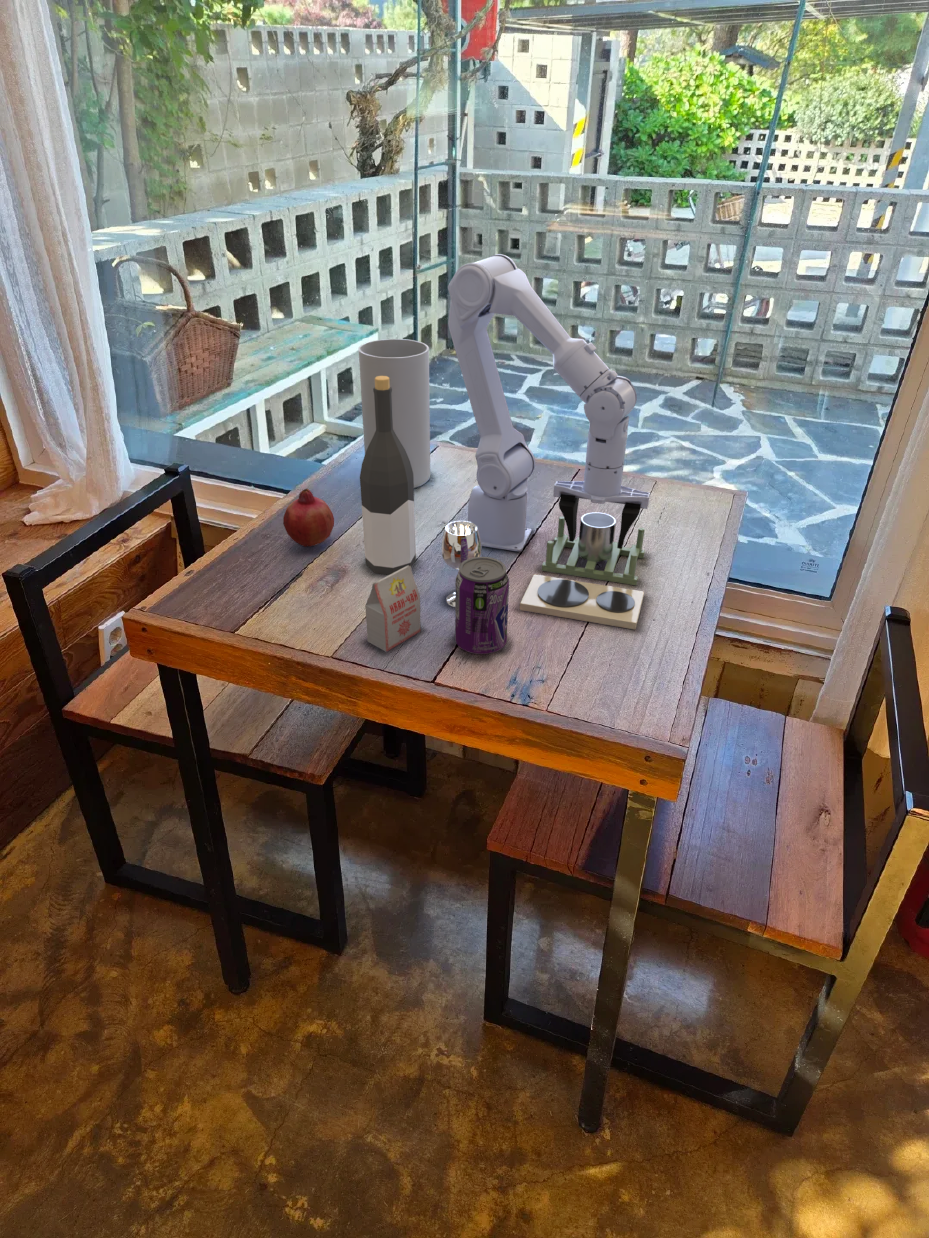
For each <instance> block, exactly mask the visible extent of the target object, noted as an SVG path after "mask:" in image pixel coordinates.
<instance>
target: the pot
mask: <svg viewBox="0 0 929 1238" xmlns="http://www.w3.org/2000/svg"><path fill="white" fill-rule="evenodd" d="M616 526H617V519H616V518H615V517H614V516H612V515H611V514H609V513H605V512H598V511H597V512H595V511H594V512H587V513H584V514H582V516H581V517H580V524H579V533H578V537H579V542H578V555H579V556H580V557H579V558H581V559H583V560H585V561H593V562H597V563H601V562H602V563H603V562H607V561H608V559H610V558H611V557H612V552H613V543H614V542H615V534H616Z"/></svg>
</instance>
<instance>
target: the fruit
mask: <svg viewBox="0 0 929 1238" xmlns="http://www.w3.org/2000/svg"><path fill="white" fill-rule="evenodd" d="M282 525H283V527H284V530H285V531H286V532H285V533H286V534H287V535H288V536H289V538H290V539H291V540H292V541H293V542H295V543H297V544H298V545H299V546H301V547H304V548H305V547H307V548H308V547H314V546H317V545H319V544H321V543H323V542H324V541H326V540H327V539H329V537H331V534H332V532H333V529H334V526H335V516H334V513H333V511H332V510H331V508H330V506H329V505H328V503H327V502H326V501H325V500H324V499H322V498H320V497H317V496H314V494H313V493H312V491H311V490H310V489H309V488H304V489H302V490H301V491H300V493H299V495H298V498H296V499H294V500H293V501H292V502H290V503H289V504H288V506H287V507H286V509H285V512H284V514H283V519H282Z"/></svg>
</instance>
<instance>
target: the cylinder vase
mask: <svg viewBox="0 0 929 1238" xmlns="http://www.w3.org/2000/svg"><path fill="white" fill-rule="evenodd" d="M358 365H359V366H358V367H359V381H360V382H359V383H360V396H361V397H360V398H361V416H362V430H363V433H362V434H363V447H364V454H365V453H366V450H367V448H368V446H369V444H370V442H371V440H372V438H373V436H374V434H375V431H376V419H375V400H374V392H373V388H374V387H375V378H376V377H377V376H387V377H389V378H390V387H392V392H391V395H392V419H393V430H394V432H395V434H396V435H397V437H398V439H399V440H400V442H401V444H402V445H403V447H404V448H405V450H406V453H407V455H408V458H409V460H410V463H411V467H412V470H413V477H414V489H416V488H419V487H421V486H423V485H425V484H426V483H427V482H428V481H429V480H430V478H431V474H432V473H431V410H430V409H431V408H430V407H431V406H430V405H431V404H430V401H431V400H430V399H431V398H430V347H429V346H428V344H426V343H424V342H421V341H419V340H414V339H405V338H383V339H376V340H370V341H367V342H365V343H362V344H360V345H359V346H358Z"/></svg>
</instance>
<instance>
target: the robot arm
mask: <svg viewBox="0 0 929 1238" xmlns="http://www.w3.org/2000/svg"><path fill="white" fill-rule="evenodd" d="M447 290H448V293H449V298H450V302H449V313H448V321H447V322H448V323H447V326H448V330H449V333H450V334H449V335H450V337H451V340H452V344H453V347H454V351H455V355H456V358H457V362H458V365H459V369H460V372H461V375H462V379H463V383H464V386H465V389H466V393H467V396H468V399H469V403H470V407H471V411H472V413H473V418H474V420H475V424H476V428H477V431H478V435H479V438H480V439H479V442H478V444H477V445H478V446H477V449H476V452H475V456H474V457H475V460H476V461H475V462H476V466H477V469H476V482H477V484H478V485H474V486H473V488H472V489H471V492H470V494H469V498H468V505H467V508H468V509H467V521H468V522H472V523H474V524H476V525H477V527H478V530H479V534H480V538H481V547H486V548H491V549H492V548H493V549H499V550H505V551H512V552H520V553H521V552H522V551H523V549H524V547H525V545H526V543H527V542H528V539H529V537H530V536H531V534H532V528H528V527H527V526H526V525H527V509H528V492H529V491H528V490H529V486H528V481H529V480H528V479H529V478H530V477H531V476H532V475H533V473H534V472H535V469H536V458H535V455H534V453H533V452H532V450H531V449H530V447H529V446H528V445H527V443H526V440H525V437H524V434H523V433H521V432H520V431H519V430H517V429H516V428H515V427H514V425H513V421H512V418H511V414H510V411H509V410H510V409H509V407H508V403H507V400H506V399H507V398H506V395H505V392H504V388H503V384H502V380H501V377H500V373H499V370H498V366H497V362H496V358H495V355H494V350H493V348H492V344H491V340H490V337H489V332H488V326H489V325H490V322H491V321H492V319H493V318H494V316H495V314H496V315H506V316H513V317H514V318H515V319H517V320H518V322H520V323H521V324H522V325H523V326H524V327H525V328H526V329H527V330H528V332H530V333H531V334H532V336H533V337H535V338H536V339H537V341H538V342H540V344H542V345H543V346H544V348H545V349H546V350H548V352H549V353H550V354H552V368H553V369H554V370H555V372H556V373H557V374H558V375H559V376H560V377H561V378H562V380H563V381H564V382H565V383H566V384H567V385H568V386H569V387H570V389H571V390H572V391H573V392H574V393H575V394H576V395H577V396H578V398H579V399H580V400H581V401H582V402H583V403H584V404H583V411H584V415H585V417H586V419H587V420H588V423H589V425H588V432H587V441H586V453H585V462H584V463H585V464H584V474H583V480H573V481H572V480H570V481H569V480H567V481H565V480H556V481H555V482H554V484H553V496H552V497H554V498H559V501H558V508H559V510H560V512H561V514H562V516H563V517H564V519H565V524H566V528H567V533H568V534H567V535H568V539H569V541H571V542H573V541H574V540H576V538H577V527H578V526H577V523H578V521H577V520H578V509H579V503H580V499H583V500H590V502H591V503H593V504H600V505H601V504H602V505H603V504H605V503H611V504H618V505H619V504H620V505H624V506H623V507H622V511H621V517H620V518H621V519H620V530H619V535H618V540H617V542H618V546H617V548H619V549H622V547H624V544H625V543H624V542H625V539H626V537H627V535H628V532H629V530H630V529H631V527H632V526H633V524H634V523H635V521H636V520H637V518H638V517H639V514H640V511H641V509H643V510H648V507H649V504H650V499H651V492H649V491H643V490H639V489H637V488H636V489H635V488H631V487H628V486H625V485H622V483H623V475H624V467H625V458H626V449H627V442H628V430H629V421H630V416H629V414H631V412H632V411H633V409H634V408H635V406H636V404H637V398H638V397H637V396H638V395H637V394H638V393H637V391H636V388H635V386H634V385H633V384H632V381H631V380H630V379H629V378H627V377H626V376H622V375H619V374H618V373H617V372H616V371H615V370H614V369H613V370H611V368H609V366H607V364H606V363H605V362H604V361H603V359H602V358H601V357H600V356H599V355H598V353H597V352H595V351H597V347H596V346H595V344H593V342H591V341H589V342H586V340H585V339H584V338H576V337H575V338H573V337H571V336H570V335H569V333H568V332H567V331H566V330H565V328H564V327H563V325H562V324H561V323H560V322H559V321H558V319H557V318H556V316H554V314H553V313H552V312H551V310H550V309H549V308H548V307H547V305H546V304H545V302H544V301H543V300H542V298H540V296H539V295H538V294H537V292H536V291H535V289H533V287H532V285H531V284H530V281H529V279H528V277H527V275H526V273H525V272H524V271H523V270H522V269H521V268H518V266H517V264H516V263H515V261H514V260H513V259H512V258H511V257H509V256H507V255H505V254H503V253H502V254H501V253H496V254H493V255H491V256H489V257H487V258H486V257H485V258H484V259H480V260H478V261H475V262H474V261H473V262H468V263H465V264H463V265H461V266H460V267H458V269H457V270H456V272H455V273H454V274H453V276H452V278H451V280H450V281H449V284H448V285H447Z"/></svg>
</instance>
